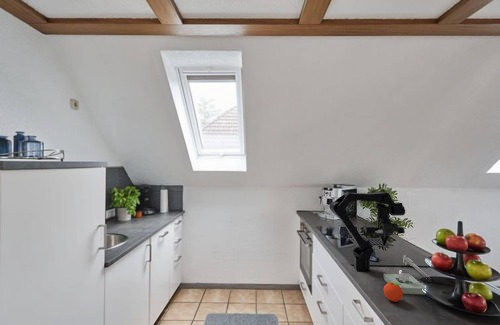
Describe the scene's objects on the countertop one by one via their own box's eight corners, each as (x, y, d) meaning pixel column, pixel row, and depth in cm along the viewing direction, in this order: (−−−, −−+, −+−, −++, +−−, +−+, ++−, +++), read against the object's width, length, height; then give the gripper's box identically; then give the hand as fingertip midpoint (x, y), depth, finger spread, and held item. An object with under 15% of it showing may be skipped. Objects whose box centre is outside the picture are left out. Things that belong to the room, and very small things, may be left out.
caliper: (402, 264, 144) (402, 252, 144) (404, 264, 144) (404, 252, 144) (429, 280, 123) (428, 267, 123) (431, 280, 123) (431, 267, 123)
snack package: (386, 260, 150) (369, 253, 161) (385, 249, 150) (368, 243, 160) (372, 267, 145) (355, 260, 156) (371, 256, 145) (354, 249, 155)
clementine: (399, 295, 109) (398, 278, 109) (409, 304, 102) (409, 286, 102) (380, 296, 109) (379, 279, 109) (389, 305, 102) (389, 287, 102)
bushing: (401, 288, 116) (400, 272, 116) (397, 283, 120) (396, 268, 120) (410, 288, 115) (410, 272, 115) (406, 284, 119) (406, 268, 119)
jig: (396, 293, 111) (396, 287, 111) (383, 278, 125) (383, 273, 125) (426, 294, 110) (426, 288, 110) (410, 279, 124) (410, 274, 124)
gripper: (369, 218, 131) (370, 250, 131) (409, 219, 128) (410, 251, 128) (362, 214, 142) (363, 243, 142) (399, 214, 139) (399, 244, 139)
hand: (383, 245), depth 137 cm, fingers closed
